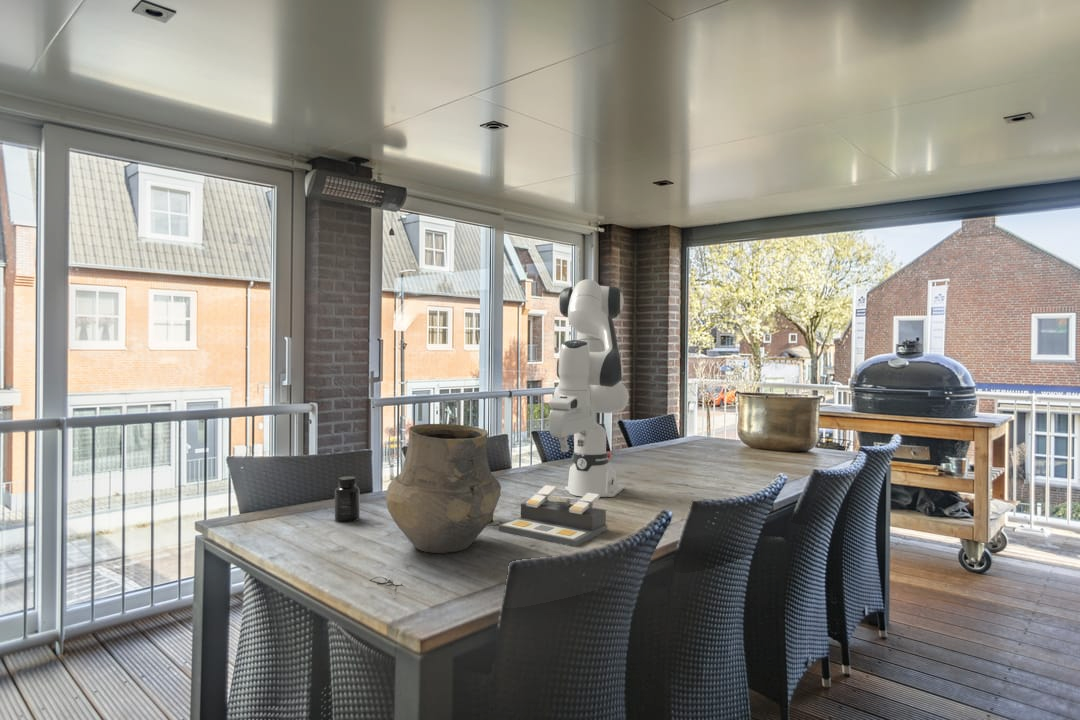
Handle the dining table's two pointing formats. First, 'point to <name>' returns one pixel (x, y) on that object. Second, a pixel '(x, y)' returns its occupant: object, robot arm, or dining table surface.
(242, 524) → the dining table surface
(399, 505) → the ceramic pot
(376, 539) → the dining table surface
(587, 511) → the switch unit
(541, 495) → the switch
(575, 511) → the switch
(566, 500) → the switch
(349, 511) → the supplement bottle
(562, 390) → the robot arm
